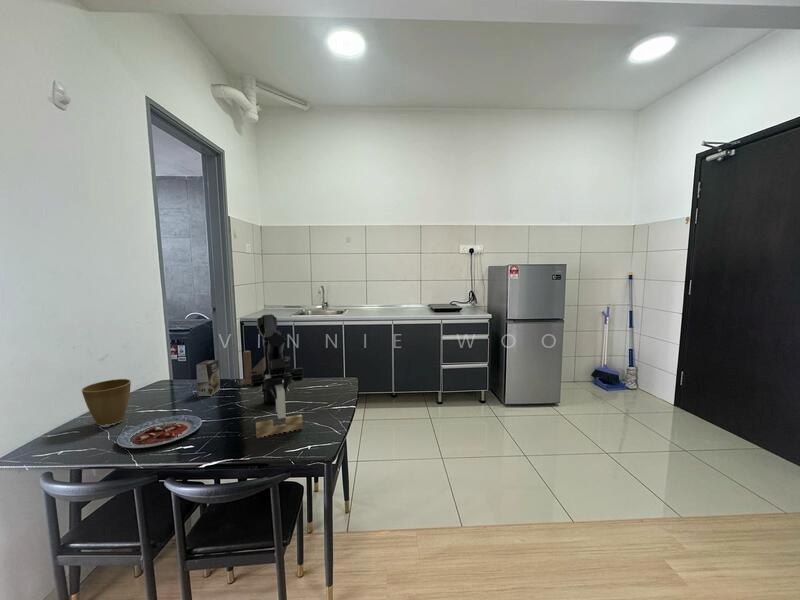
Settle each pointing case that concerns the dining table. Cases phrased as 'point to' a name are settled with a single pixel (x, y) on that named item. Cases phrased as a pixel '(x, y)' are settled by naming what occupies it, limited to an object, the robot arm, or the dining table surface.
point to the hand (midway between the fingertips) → (280, 397)
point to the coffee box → (208, 377)
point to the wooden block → (247, 367)
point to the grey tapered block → (280, 401)
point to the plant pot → (107, 400)
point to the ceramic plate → (160, 431)
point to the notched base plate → (278, 426)
